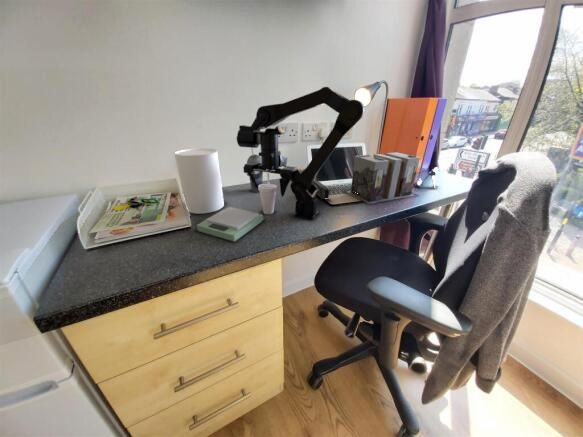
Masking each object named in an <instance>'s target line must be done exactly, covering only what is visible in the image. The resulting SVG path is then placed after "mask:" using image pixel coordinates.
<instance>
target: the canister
mask: <svg viewBox="0 0 583 437" xmlns="http://www.w3.org/2000/svg"><path fill="white" fill-rule="evenodd" d="M174 158H175V161H176V167H177V172H178V177H179V181H180V187H181V191H182V195H183V194H184V196H183V198H184V197H185V200H186V204H187V206H188V209H189V213H191V214H199V215H200V214H209V213H214V212H217V211H219V210H221V209H222V208H223V207H225V200H224V193H223V192H224V191H223V186H222V178H221V169H220V164H219V163H220V162H219V155H218V150H217V149H215V148H207V147H206V148H204V147H203V148H201V147H200V148H199V147H198V148H188V149H181V150H177V151H175V152H174Z"/></svg>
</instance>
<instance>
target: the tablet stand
mask: <svg viewBox="0 0 583 437" xmlns="http://www.w3.org/2000/svg"><path fill="white" fill-rule="evenodd" d="M438 172H439V168H438V167H433V168H432V169H431V171H430V172H429V173H427V174H428V175H426V176H425V178H424V179H423V180H421V179H422V178H419V179H418V180H417V182H416V183H415V187H416V188H420V187H421V186H422V185H423V183H424V182H426V180H427V178H428V177H429V176H431V180H432V185H433V189H434V190H435V189H436V187H437V184H436V178H435V175H436V174H437V173H438Z"/></svg>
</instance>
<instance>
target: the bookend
mask: <svg viewBox="0 0 583 437" xmlns="http://www.w3.org/2000/svg"><path fill="white" fill-rule="evenodd" d="M420 159H421V157H419V156H417V155H414V154H406V153H401V152H397V151H395V152H394V151H393V152H385V153H384V154H383V153H373V154H372V155H369V154H361V155H354V162H353V170H352V179H351V186H350V190H346V191H345V192H346V193H347V194H349V195H351V196H352V197H355V198H357V199H358V200H360V201H362V202H364V203H365V204H367V205H370V204H371V205H372V204H377V203H382V202H387V201H392V200H398V199H404V198H409V197H410V198H411V197H416V196H417V195H416V194H414V193H412V192H413V188H414V184H415V180H416V176H417V172H418V168H419V163H420ZM351 190H352V191H351ZM353 191H354V192H353ZM355 192H356V193H355ZM357 193H358V194H357Z"/></svg>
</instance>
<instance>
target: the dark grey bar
mask: <svg viewBox="0 0 583 437" xmlns="http://www.w3.org/2000/svg"><path fill="white" fill-rule="evenodd" d="M313 184H314V185H315V186H316V187H317V188H318V193H317V195H316V196H317V197H319V198H320V199H322V200H326V201H328V202H332V200H331V199H330V190H329V188H328V187H327V186H326V185H324V184H323V183H322V182H320V181H318V180H314V182H313ZM325 198H329V199H325Z"/></svg>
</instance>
